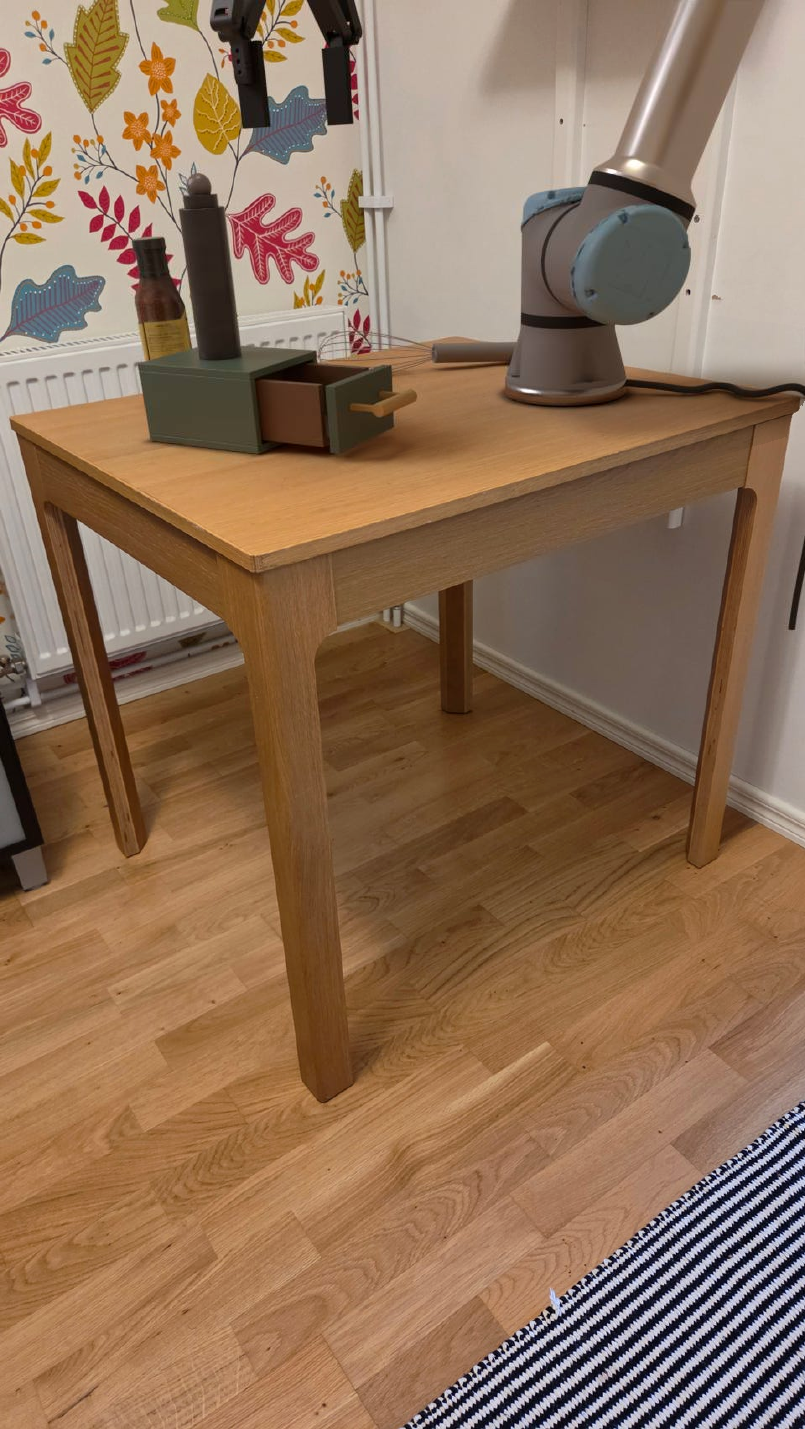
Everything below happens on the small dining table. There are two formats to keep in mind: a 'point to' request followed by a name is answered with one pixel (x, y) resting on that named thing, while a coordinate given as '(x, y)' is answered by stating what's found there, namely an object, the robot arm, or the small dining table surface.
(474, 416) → the small dining table surface
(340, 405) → the drawer
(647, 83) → the robot arm
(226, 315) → the pepper mill
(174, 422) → the cabinet
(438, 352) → the kitchen whisk
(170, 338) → the sauce bottle
